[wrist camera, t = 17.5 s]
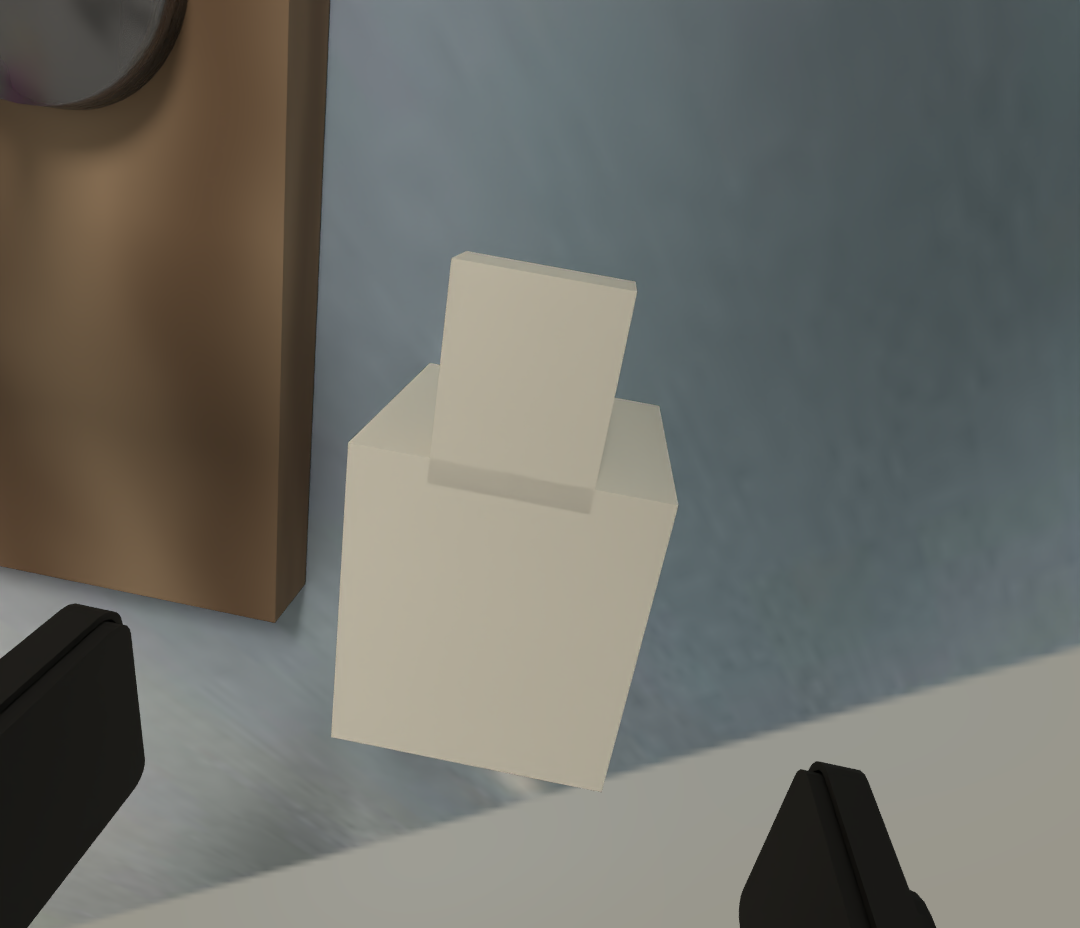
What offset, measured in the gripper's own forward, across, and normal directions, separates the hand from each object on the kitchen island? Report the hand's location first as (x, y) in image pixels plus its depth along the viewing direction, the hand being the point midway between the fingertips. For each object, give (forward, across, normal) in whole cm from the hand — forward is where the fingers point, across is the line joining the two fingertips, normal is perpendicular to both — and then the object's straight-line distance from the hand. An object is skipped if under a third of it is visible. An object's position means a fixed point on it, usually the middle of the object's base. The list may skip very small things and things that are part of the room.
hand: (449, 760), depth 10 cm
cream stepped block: (+10, 0, -1) cm, 10 cm away
